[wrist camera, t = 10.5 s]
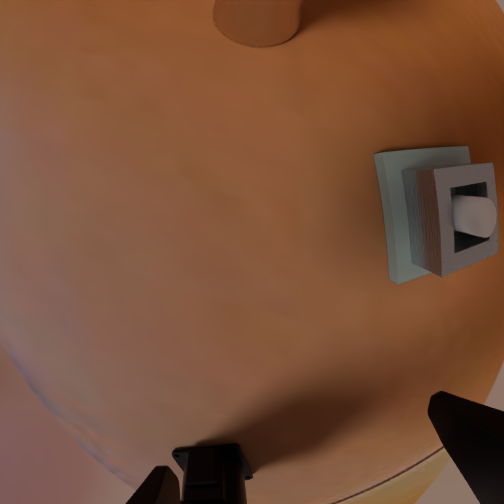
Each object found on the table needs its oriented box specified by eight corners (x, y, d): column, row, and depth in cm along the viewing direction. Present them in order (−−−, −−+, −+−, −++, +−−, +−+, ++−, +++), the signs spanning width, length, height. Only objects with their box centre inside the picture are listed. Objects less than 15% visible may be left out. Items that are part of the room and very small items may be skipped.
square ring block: (468, 243, 18) (498, 252, 15) (411, 263, 18) (441, 277, 15) (461, 163, 17) (492, 162, 13) (400, 171, 17) (433, 169, 13)
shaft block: (468, 251, 20) (517, 269, 14) (389, 279, 19) (438, 309, 13) (458, 147, 18) (511, 142, 12) (373, 154, 17) (427, 144, 11)
